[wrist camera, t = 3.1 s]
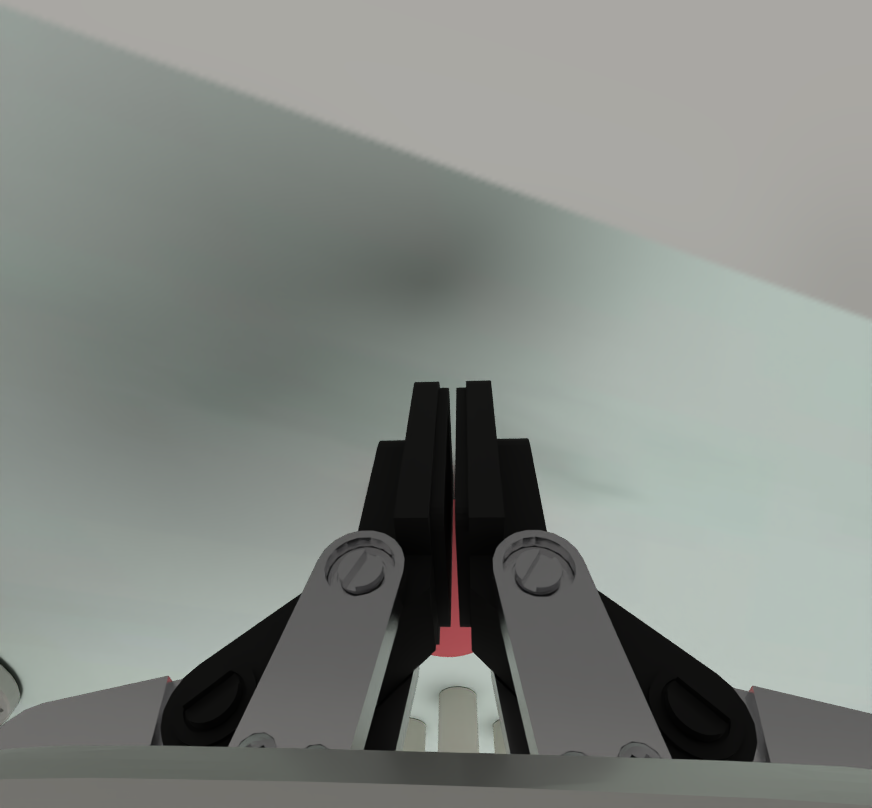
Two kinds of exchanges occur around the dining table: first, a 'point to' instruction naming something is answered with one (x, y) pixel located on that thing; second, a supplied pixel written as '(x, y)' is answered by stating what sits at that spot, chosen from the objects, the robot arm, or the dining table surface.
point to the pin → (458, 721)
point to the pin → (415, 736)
